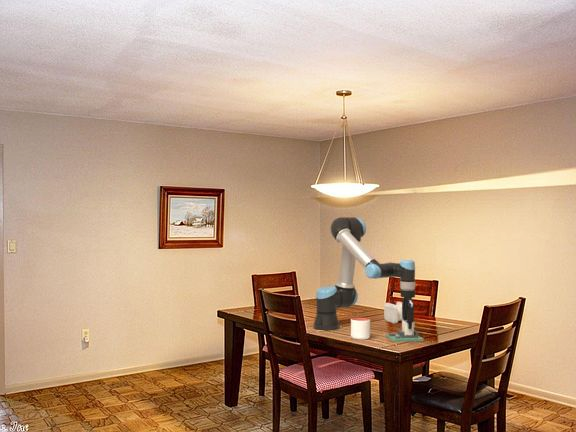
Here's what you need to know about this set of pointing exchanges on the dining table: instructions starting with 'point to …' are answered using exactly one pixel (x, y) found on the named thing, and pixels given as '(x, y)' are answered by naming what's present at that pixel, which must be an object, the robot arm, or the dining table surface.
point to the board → (403, 337)
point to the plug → (404, 327)
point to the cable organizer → (393, 312)
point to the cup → (360, 328)
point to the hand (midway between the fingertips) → (407, 333)
